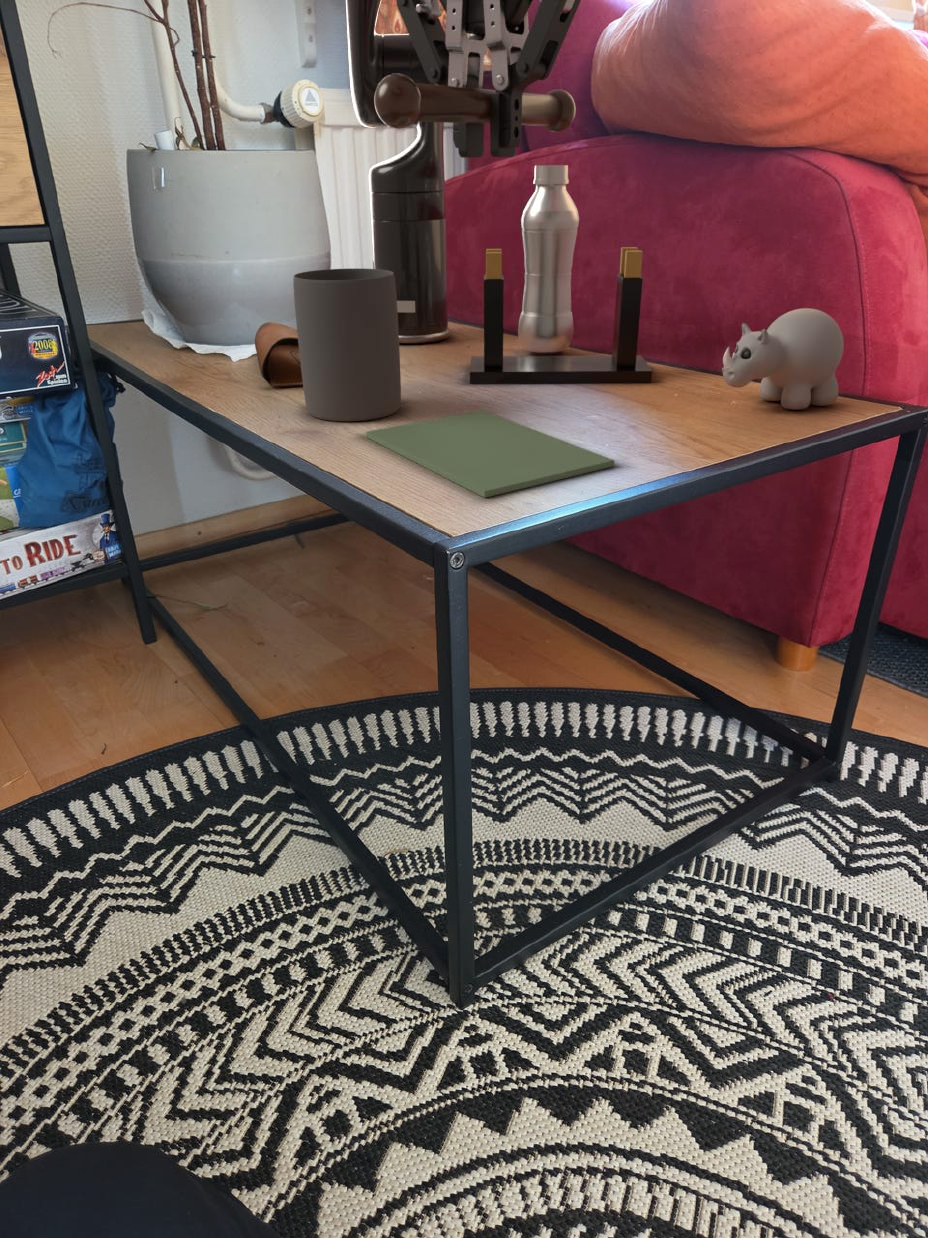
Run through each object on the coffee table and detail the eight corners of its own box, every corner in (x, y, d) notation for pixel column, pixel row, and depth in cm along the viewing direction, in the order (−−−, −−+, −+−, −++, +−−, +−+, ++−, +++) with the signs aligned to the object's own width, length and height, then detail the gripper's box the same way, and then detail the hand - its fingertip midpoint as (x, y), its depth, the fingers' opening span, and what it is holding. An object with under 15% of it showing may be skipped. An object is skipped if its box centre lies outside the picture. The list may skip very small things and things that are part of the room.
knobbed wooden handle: (366, 129, 51) (362, 73, 50) (549, 132, 67) (550, 91, 66) (403, 126, 50) (400, 69, 48) (581, 131, 66) (582, 88, 65)
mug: (410, 417, 78) (404, 277, 72) (310, 426, 76) (295, 282, 70) (385, 384, 90) (378, 261, 84) (297, 391, 88) (284, 265, 82)
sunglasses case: (345, 377, 90) (307, 322, 87) (291, 416, 91) (251, 363, 87) (324, 346, 106) (291, 299, 102) (278, 379, 106) (244, 333, 102)
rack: (471, 366, 97) (470, 247, 91) (640, 366, 96) (650, 245, 90) (469, 383, 90) (468, 254, 84) (651, 382, 89) (663, 252, 83)
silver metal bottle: (508, 350, 105) (510, 165, 95) (557, 345, 107) (564, 164, 97) (532, 360, 99) (537, 165, 90) (583, 355, 102) (593, 164, 92)
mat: (366, 437, 73) (365, 431, 73) (482, 415, 79) (482, 409, 78) (484, 498, 60) (484, 491, 59) (614, 466, 65) (614, 460, 65)
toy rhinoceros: (694, 402, 82) (705, 308, 78) (800, 391, 85) (815, 300, 81) (737, 421, 76) (751, 321, 72) (850, 408, 79) (869, 312, 75)
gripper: (357, -167, 52) (375, 158, 60) (559, -220, 45) (548, 156, 53) (430, -138, 57) (437, 157, 65) (620, -180, 50) (601, 155, 58)
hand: (487, 155), depth 59 cm, fingers closed on knobbed wooden handle, 2 cm apart
